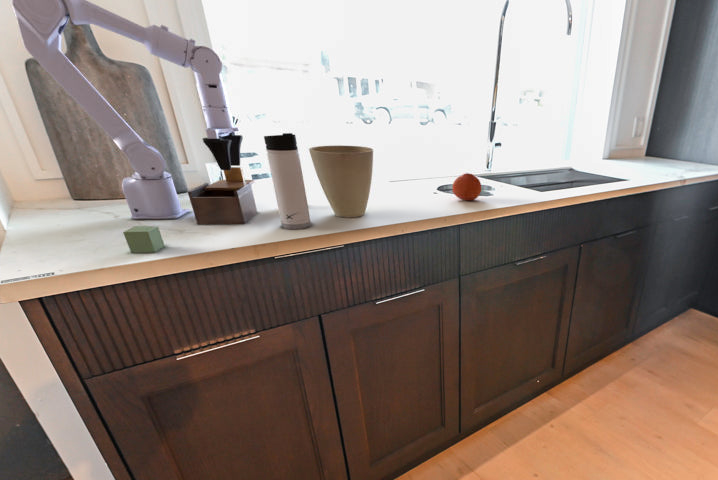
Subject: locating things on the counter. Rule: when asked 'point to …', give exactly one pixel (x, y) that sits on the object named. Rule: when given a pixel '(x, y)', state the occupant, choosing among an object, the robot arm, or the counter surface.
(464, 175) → the fruit
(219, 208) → the box
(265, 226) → the counter surface
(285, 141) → the travel mug
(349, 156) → the plant pot
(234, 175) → the lid
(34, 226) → the counter surface
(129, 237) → the block
